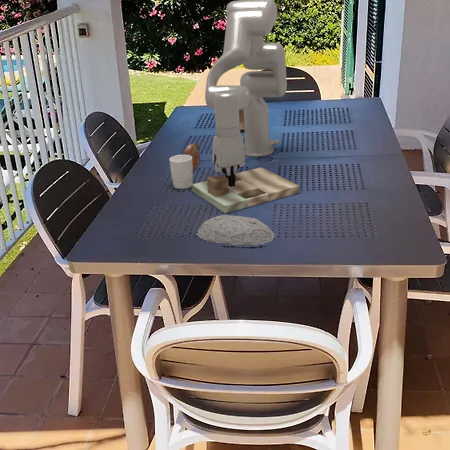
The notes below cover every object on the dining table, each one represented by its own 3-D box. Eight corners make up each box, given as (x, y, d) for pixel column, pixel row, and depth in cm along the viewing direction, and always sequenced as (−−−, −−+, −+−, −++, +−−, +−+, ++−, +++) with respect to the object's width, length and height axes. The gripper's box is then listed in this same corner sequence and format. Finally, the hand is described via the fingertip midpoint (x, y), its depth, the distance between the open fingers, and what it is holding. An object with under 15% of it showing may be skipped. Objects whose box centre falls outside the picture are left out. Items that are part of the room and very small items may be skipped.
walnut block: (221, 188, 198) (220, 174, 196) (229, 193, 194) (228, 178, 192) (208, 192, 196) (206, 177, 193) (215, 196, 192) (214, 182, 189)
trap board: (261, 173, 216) (261, 167, 215) (299, 192, 197) (299, 185, 196) (192, 191, 204) (191, 184, 203) (225, 213, 185) (224, 206, 184)
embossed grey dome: (206, 219, 182) (204, 199, 178) (285, 232, 174) (286, 212, 170) (184, 246, 170) (183, 225, 166) (269, 261, 161) (269, 240, 158)
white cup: (177, 191, 205) (174, 163, 201) (168, 184, 211) (165, 157, 207) (198, 186, 208) (195, 159, 204) (188, 179, 214) (186, 153, 210)
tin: (191, 174, 219) (189, 152, 216) (182, 174, 220) (180, 152, 216) (200, 161, 233) (199, 140, 229) (193, 161, 233) (191, 140, 230)
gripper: (241, 124, 195) (244, 177, 203) (201, 132, 189) (205, 187, 196) (254, 129, 189) (256, 183, 197) (212, 138, 183) (216, 194, 190)
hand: (230, 185), depth 197 cm, fingers closed
